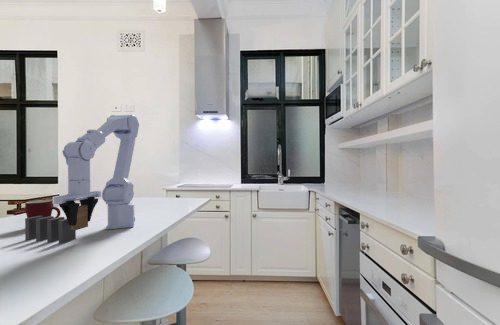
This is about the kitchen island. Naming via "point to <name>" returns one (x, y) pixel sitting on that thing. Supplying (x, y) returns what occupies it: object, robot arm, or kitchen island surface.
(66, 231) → the domino
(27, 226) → the domino
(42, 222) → the domino
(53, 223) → the domino
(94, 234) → the kitchen island surface
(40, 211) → the mug
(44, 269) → the kitchen island surface
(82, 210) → the domino
